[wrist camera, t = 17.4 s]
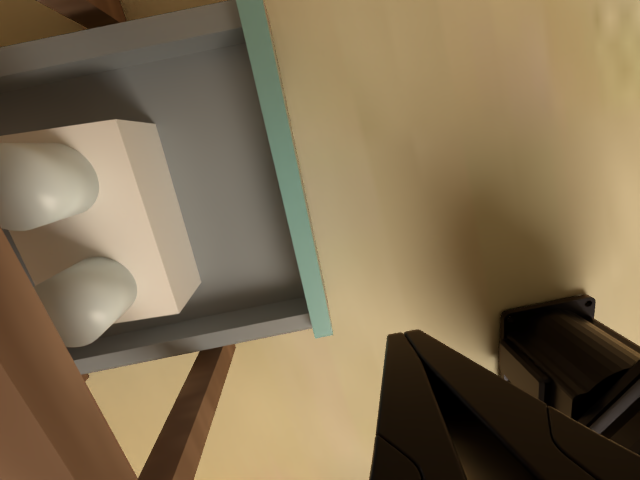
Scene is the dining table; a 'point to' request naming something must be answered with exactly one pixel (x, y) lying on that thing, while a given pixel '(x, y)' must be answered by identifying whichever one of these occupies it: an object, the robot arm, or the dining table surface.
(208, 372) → the wooden stand
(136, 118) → the drawer
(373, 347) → the dining table surface
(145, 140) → the cream toy brick
